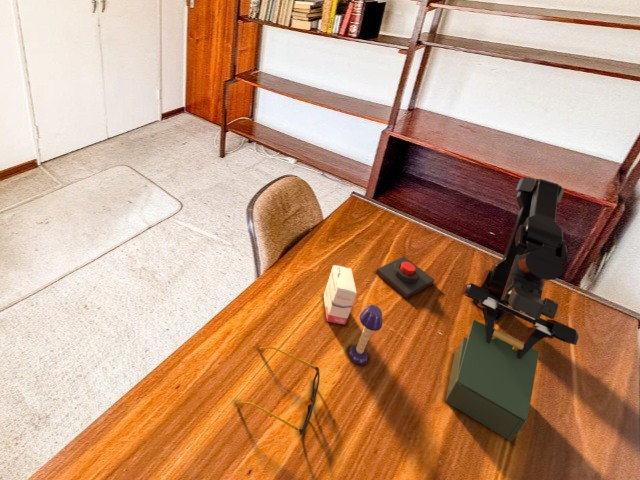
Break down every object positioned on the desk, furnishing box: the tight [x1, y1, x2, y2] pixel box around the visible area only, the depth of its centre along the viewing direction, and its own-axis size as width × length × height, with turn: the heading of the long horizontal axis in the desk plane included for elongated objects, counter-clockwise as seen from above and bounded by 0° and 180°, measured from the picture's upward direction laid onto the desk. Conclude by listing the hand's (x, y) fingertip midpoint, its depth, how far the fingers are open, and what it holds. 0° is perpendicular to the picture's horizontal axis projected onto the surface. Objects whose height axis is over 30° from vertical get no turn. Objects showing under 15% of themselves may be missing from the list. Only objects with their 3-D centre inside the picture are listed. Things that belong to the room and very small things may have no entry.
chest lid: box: [456, 319, 540, 423], centre depth 81 cm, size 14×12×4 cm
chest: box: [445, 336, 526, 442], centre depth 85 cm, size 14×12×7 cm
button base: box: [375, 256, 435, 299], centre depth 115 cm, size 12×10×4 cm
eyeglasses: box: [235, 346, 321, 436], centre depth 85 cm, size 14×14×4 cm
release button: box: [400, 262, 416, 275], centre depth 114 cm, size 4×4×2 cm
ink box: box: [323, 264, 358, 325], centre depth 103 cm, size 9×5×12 cm, turn 168°
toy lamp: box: [348, 304, 383, 366], centre depth 90 cm, size 5×5×17 cm
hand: (502, 350), depth 83 cm, fingers closed on chest lid, 5 cm apart
